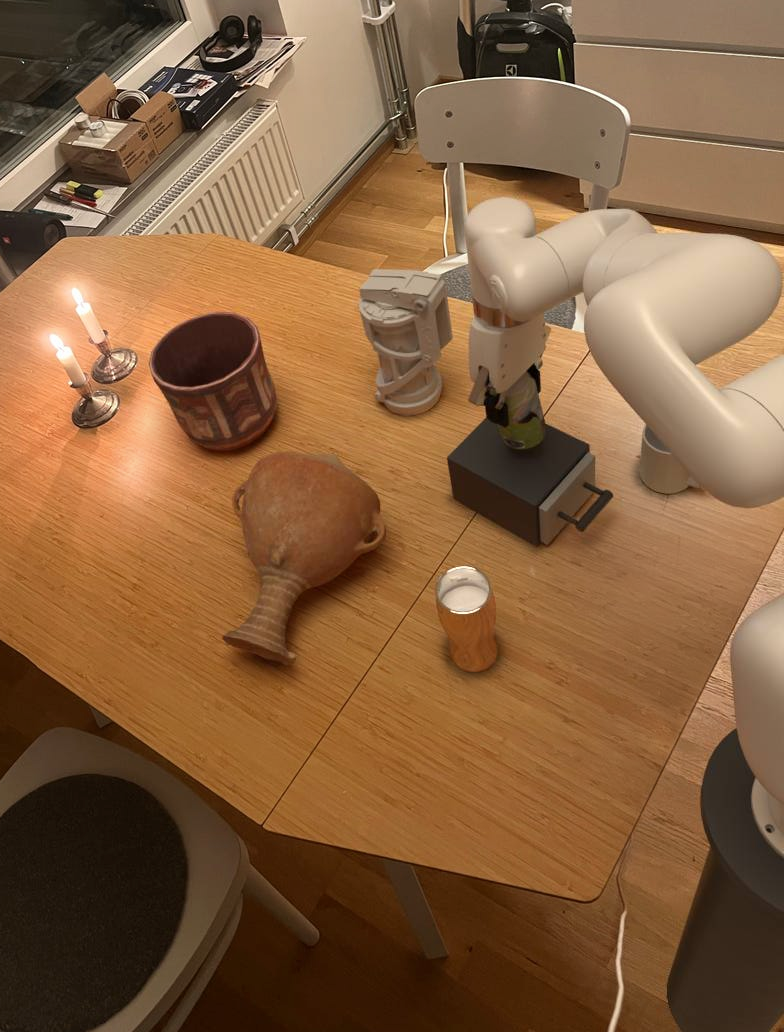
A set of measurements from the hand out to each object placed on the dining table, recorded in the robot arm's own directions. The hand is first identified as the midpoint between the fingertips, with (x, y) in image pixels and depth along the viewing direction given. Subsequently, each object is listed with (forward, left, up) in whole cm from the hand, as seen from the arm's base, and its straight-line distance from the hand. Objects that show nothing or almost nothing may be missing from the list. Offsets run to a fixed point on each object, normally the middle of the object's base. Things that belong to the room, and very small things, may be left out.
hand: (513, 404), depth 118 cm
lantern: (+25, -7, -19) cm, 32 cm away
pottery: (+47, +15, -19) cm, 53 cm away
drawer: (-4, 0, -18) cm, 19 cm away
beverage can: (0, 0, -7) cm, 7 cm away
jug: (+16, +30, -19) cm, 39 cm away
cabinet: (0, 0, -19) cm, 19 cm away
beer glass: (-10, +24, -19) cm, 32 cm away
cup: (-16, -14, -19) cm, 29 cm away
